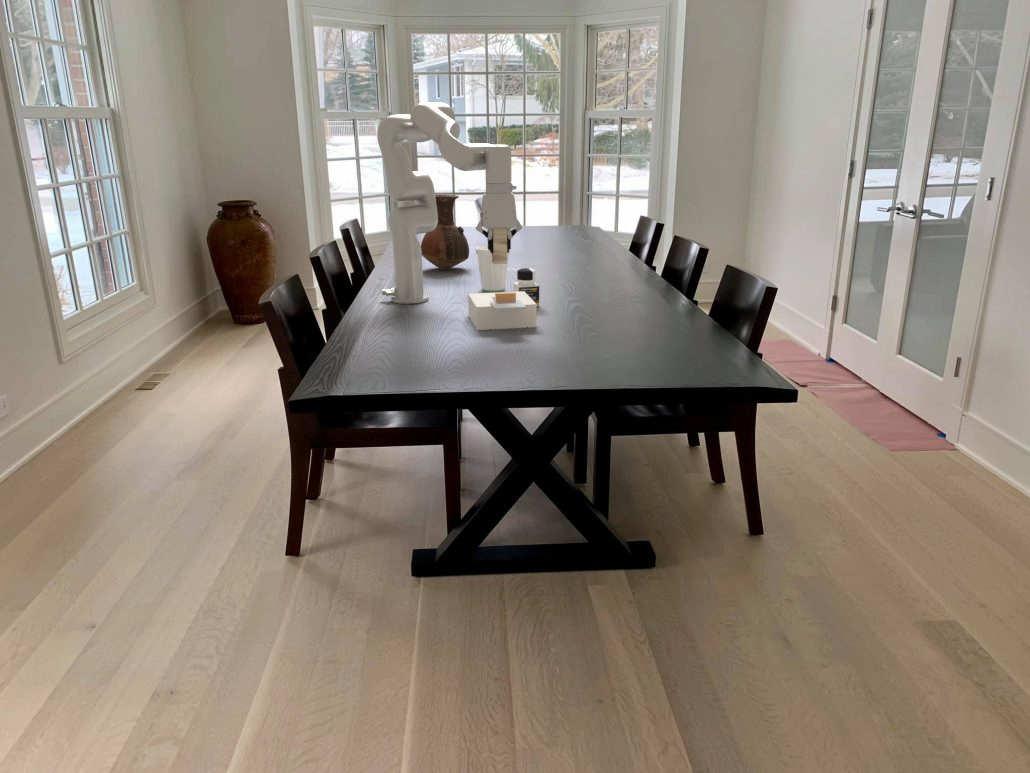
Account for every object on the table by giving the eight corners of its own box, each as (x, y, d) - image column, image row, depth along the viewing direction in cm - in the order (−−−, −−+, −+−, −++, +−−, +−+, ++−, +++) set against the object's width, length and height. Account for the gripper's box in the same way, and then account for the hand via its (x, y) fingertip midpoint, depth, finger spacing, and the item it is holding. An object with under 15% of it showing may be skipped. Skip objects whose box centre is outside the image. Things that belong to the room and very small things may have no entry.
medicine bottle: (518, 307, 248) (518, 271, 244) (513, 302, 255) (513, 267, 251) (539, 306, 250) (539, 270, 246) (533, 301, 257) (533, 266, 253)
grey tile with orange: (495, 310, 215) (495, 300, 214) (490, 303, 223) (490, 293, 222) (526, 309, 216) (526, 298, 215) (519, 302, 225) (519, 291, 224)
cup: (469, 291, 272) (469, 248, 267) (487, 284, 282) (486, 244, 277) (500, 294, 266) (499, 251, 261) (516, 288, 277) (516, 246, 272)
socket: (477, 330, 222) (476, 307, 220) (468, 315, 238) (468, 293, 236) (536, 327, 225) (536, 304, 223) (524, 312, 242) (524, 291, 239)
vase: (470, 275, 300) (468, 198, 290) (420, 275, 298) (416, 198, 288) (468, 263, 323) (467, 192, 313) (422, 264, 322) (419, 192, 311)
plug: (491, 261, 227) (491, 216, 222) (504, 261, 228) (504, 216, 223) (493, 264, 223) (493, 218, 219) (507, 263, 224) (506, 217, 219)
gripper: (524, 187, 223) (524, 249, 229) (468, 188, 220) (469, 251, 226) (529, 189, 216) (529, 253, 222) (471, 190, 213) (473, 255, 220)
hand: (499, 251), depth 224 cm, fingers closed on plug, 4 cm apart
